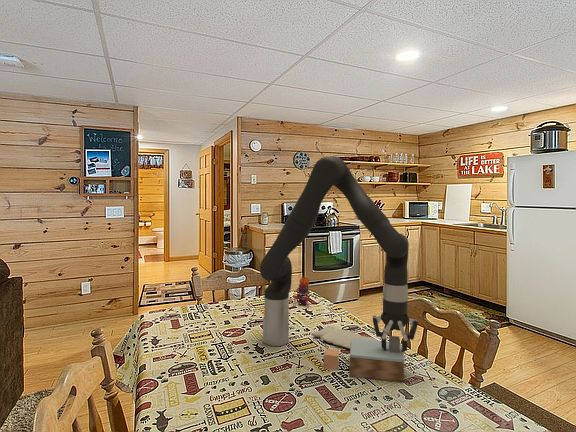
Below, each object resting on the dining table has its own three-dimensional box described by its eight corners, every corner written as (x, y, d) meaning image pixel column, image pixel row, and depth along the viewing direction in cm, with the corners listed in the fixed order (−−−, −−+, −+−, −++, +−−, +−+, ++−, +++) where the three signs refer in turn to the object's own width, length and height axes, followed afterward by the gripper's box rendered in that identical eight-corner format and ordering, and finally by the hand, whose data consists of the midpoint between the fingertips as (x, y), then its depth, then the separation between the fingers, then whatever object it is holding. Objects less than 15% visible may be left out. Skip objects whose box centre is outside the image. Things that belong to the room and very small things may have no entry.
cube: (323, 368, 113) (323, 354, 113) (325, 361, 117) (325, 348, 117) (337, 369, 112) (337, 356, 112) (338, 362, 116) (338, 349, 116)
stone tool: (310, 340, 135) (369, 358, 119) (310, 330, 135) (369, 347, 119) (328, 331, 145) (385, 347, 129) (328, 322, 145) (385, 336, 129)
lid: (350, 357, 107) (350, 341, 107) (351, 340, 119) (351, 327, 119) (404, 362, 104) (405, 346, 104) (400, 345, 116) (400, 331, 115)
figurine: (291, 307, 171) (291, 277, 170) (294, 302, 180) (294, 273, 179) (308, 308, 170) (309, 278, 169) (310, 303, 179) (311, 274, 178)
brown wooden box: (349, 376, 108) (349, 357, 107) (350, 358, 119) (350, 341, 119) (403, 382, 104) (404, 363, 104) (399, 363, 116) (399, 345, 116)
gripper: (371, 299, 107) (371, 353, 108) (421, 302, 104) (419, 358, 105) (371, 292, 114) (370, 343, 115) (417, 295, 111) (416, 347, 112)
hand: (394, 350), depth 110 cm, fingers closed on lid, 5 cm apart
